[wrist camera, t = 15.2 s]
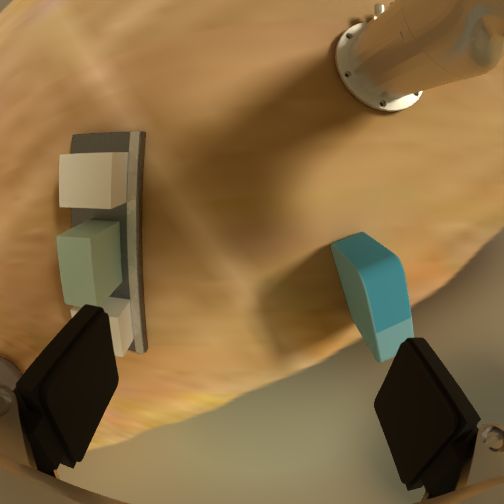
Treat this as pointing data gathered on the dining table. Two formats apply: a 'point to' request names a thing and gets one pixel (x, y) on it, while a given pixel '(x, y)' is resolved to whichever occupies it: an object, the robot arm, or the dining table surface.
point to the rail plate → (123, 220)
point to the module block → (90, 262)
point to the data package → (374, 293)
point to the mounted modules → (101, 197)
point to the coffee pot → (8, 374)
